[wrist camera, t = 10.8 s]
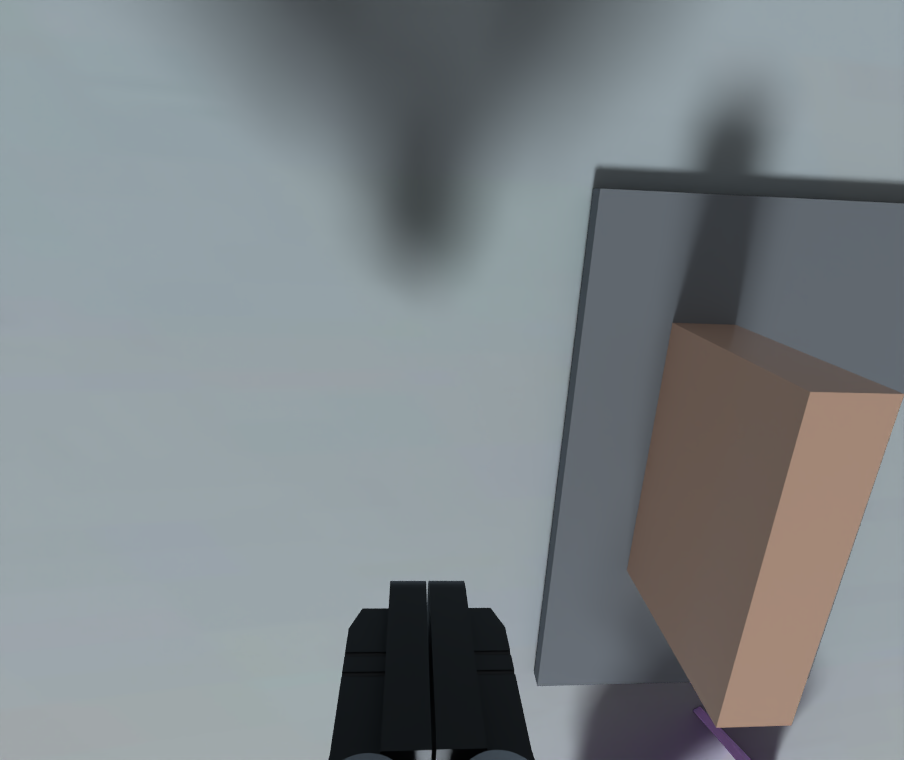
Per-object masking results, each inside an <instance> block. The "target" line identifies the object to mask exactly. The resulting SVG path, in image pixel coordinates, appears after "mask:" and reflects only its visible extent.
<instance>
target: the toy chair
mask: <svg viewBox="0 0 904 760" xmlns="http://www.w3.org/2000/svg"><path fill="white" fill-rule="evenodd" d="M693 711H694V713H695V714H696V715H697V716H698V717H699V718H700V719H701V721H702V722H703V723H704V724H705V725H706V726H707V727H708V728H709V729H710V731H711V732H712V733H713V734H714V735H715V736H716V737H717V738H718V740H719V741H720V742H721V743H722V744H723V745H724V746H725V748H726V749H727V750H728V751H729V752H730V753H731V755H732V756H733V757H734V758H735V759H736V760H751V759H750V758H749V757H748V756H747V754H746V753H745V752H744V751H743V750H742V749H741V748H740V747H739V746H738V745H737V744H736V743H735V742H734V741H733V740H732V739H731V738H730V737H729V736H728V735H727V734H726V733H725V732H724V731H723V730H722V729H721V728H716V727H715V725H714V723H713V721H712V720H711V718H710V716H709V715H708V714H707V713H706V712H705V711H704V710H703V709H702V708H701V707H700V706H699V707H697V708H696V709H694V710H693Z"/></svg>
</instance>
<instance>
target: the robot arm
mask: <svg viewBox="0 0 904 760" xmlns="http://www.w3.org/2000/svg"><path fill="white" fill-rule="evenodd" d="M329 760H535V759H534V757H533V753H532V750H531V745H530V741H529V736H528V731H527V727H526V722H525V718H524V713H523V708H522V704H521V699H520V694H519V690H518V685H517V680H516V676H515V674H514V667H513V662H512V657H511V655H510V648H509V643H508V639H507V634H506V629H505V627H504V625H503V624H502V623H501V621H500V620H499V619H498V617H497V616H496V615H495V613H494V612H493V611H492V609H491V608H468V603H467V595H466V588H465V583H464V581H429V582H428V597H427V594H426V581H390V596H389V608H388V609H362V610H361V612H360V613H359V614H358V616H357V617H356V619H355V620H354V622H353V623H352V625H351V626H350V628H349V631H348V637H347V644H346V650H345V657H344V664H343V670H342V677H341V684H340V690H339V697H338V704H337V710H336V717H335V724H334V730H333V737H332V744H331V750H330V756H329Z"/></svg>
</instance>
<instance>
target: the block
mask: <svg viewBox="0 0 904 760" xmlns="http://www.w3.org/2000/svg"><path fill="white" fill-rule="evenodd" d="M903 396H904V394H903V393H901V392H898V391H896V390H893V389H891V388H888V387H886V386H884V385H881V384H879V383H876V382H874V381H871V380H869V379H866V378H864V377H862V376H859V375H857V374H854V373H852V372H849V371H847V370H845V369H842V368H840V367H837V366H835V365H832V364H830V363H828V362H825V361H823V360H820V359H818V358H815V357H813V356H810V355H808V354H806V353H803V352H801V351H798V350H796V349H793V348H791V347H789V346H786V345H784V344H781V343H779V342H776V341H774V340H771V339H769V338H767V337H764V336H762V335H759V334H757V333H754V332H752V331H750V330H747V329H745V328H742V327H740V326H737V325H727V324H696V323H672V328H671V333H670V339H669V344H668V350H667V355H666V361H665V366H664V371H663V377H662V382H661V388H660V393H659V399H658V404H657V409H656V415H655V420H654V426H653V431H652V437H651V442H650V447H649V453H648V458H647V464H646V469H645V475H644V480H643V485H642V491H641V496H640V502H639V507H638V513H637V518H636V524H635V529H634V534H633V540H632V545H631V551H630V556H629V562H628V567H627V572H628V573H629V575H630V577H631V579H632V580H633V582H634V584H635V586H636V588H637V589H638V591H639V593H640V595H641V596H642V598H643V600H644V602H645V603H646V605H647V607H648V609H649V610H650V612H651V614H652V616H653V617H654V619H655V621H656V623H657V625H658V626H659V628H660V630H661V632H662V633H663V635H664V637H665V639H666V640H667V642H668V644H669V646H670V647H671V649H672V651H673V653H674V654H675V656H676V658H677V660H678V661H679V663H680V665H681V667H682V669H683V670H684V672H685V674H686V676H687V677H688V679H689V681H690V683H691V684H692V686H693V688H694V690H695V691H696V693H697V695H698V697H699V698H700V700H701V702H702V704H703V706H704V707H705V709H706V711H707V713H708V714H709V716H710V718H711V720H712V721H713V723H714V725H715V727H716V728H726V727H758V726H790V725H792V722H793V719H794V716H795V713H796V710H797V708H798V705H799V702H800V699H801V696H802V693H803V690H804V687H805V684H806V681H807V678H808V675H809V672H810V669H811V666H812V664H813V661H814V658H815V655H816V652H817V649H818V646H819V643H820V640H821V637H822V634H823V631H824V628H825V625H826V622H827V620H828V617H829V614H830V611H831V608H832V605H833V602H834V599H835V596H836V593H837V590H838V587H839V584H840V581H841V578H842V575H843V573H844V570H845V567H846V564H847V561H848V558H849V555H850V552H851V549H852V546H853V543H854V540H855V537H856V534H857V531H858V529H859V526H860V523H861V520H862V517H863V514H864V511H865V508H866V505H867V502H868V499H869V496H870V493H871V490H872V487H873V485H874V482H875V479H876V476H877V473H878V470H879V467H880V464H881V461H882V458H883V455H884V452H885V449H886V446H887V443H888V441H889V438H890V435H891V432H892V429H893V426H894V423H895V420H896V417H897V414H898V411H899V408H900V405H901V402H902V399H903Z"/></svg>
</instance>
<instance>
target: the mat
mask: <svg viewBox="0 0 904 760" xmlns="http://www.w3.org/2000/svg"><path fill="white" fill-rule="evenodd" d="M672 323H696V324H727V325H737V326H740V327H742V328H745V329H747V330H750V331H752V332H754V333H757V334H759V335H762V336H764V337H767V338H769V339H771V340H774V341H776V342H779V343H781V344H784V345H786V346H789V347H791V348H793V349H796V350H798V351H801V352H803V353H806V354H808V355H810V356H813V357H815V358H818V359H820V360H823V361H825V362H828V363H830V364H832V365H835V366H837V367H840V368H842V369H845V370H847V371H849V372H852V373H854V374H857V375H859V376H862V377H864V378H866V379H869V380H871V381H874V382H876V383H879V384H881V385H884V386H886V387H888V388H891V389H893V390H896V391H898V392H901V393H903V394H904V203H884V202H864V201H843V200H823V199H803V198H783V197H763V196H742V195H722V194H702V193H682V192H661V191H641V190H621V189H601V188H600V189H593V196H592V204H591V212H590V220H589V228H588V237H587V245H586V253H585V261H584V269H583V277H582V286H581V294H580V302H579V310H578V318H577V327H576V335H575V343H574V351H573V359H572V367H571V376H570V384H569V392H568V400H567V408H566V416H565V425H564V433H563V441H562V449H561V457H560V465H559V474H558V482H557V490H556V498H555V506H554V514H553V523H552V531H551V539H550V547H549V555H548V564H547V572H546V580H545V588H544V596H543V604H542V613H541V621H540V629H539V637H538V645H537V653H536V662H535V670H534V674H535V678H536V682H537V686H557V685H595V684H633V683H671V682H690V681H689V679H688V677H687V676H686V674H685V672H684V670H683V669H682V667H681V665H680V663H679V661H678V660H677V658H676V656H675V654H674V653H673V651H672V649H671V647H670V646H669V644H668V642H667V640H666V639H665V637H664V635H663V633H662V632H661V630H660V628H659V626H658V625H657V623H656V621H655V619H654V617H653V616H652V614H651V612H650V610H649V609H648V607H647V605H646V603H645V602H644V600H643V598H642V596H641V595H640V593H639V591H638V589H637V588H636V586H635V584H634V582H633V580H632V579H631V577H630V575H629V573H628V572H627V567H628V562H629V556H630V551H631V545H632V540H633V534H634V529H635V524H636V518H637V513H638V507H639V502H640V496H641V491H642V485H643V480H644V475H645V469H646V464H647V458H648V453H649V447H650V442H651V437H652V431H653V426H654V420H655V415H656V409H657V404H658V399H659V393H660V388H661V382H662V377H663V371H664V366H665V361H666V355H667V350H668V344H669V339H670V333H671V328H672ZM903 397H904V396H903ZM902 400H903V399H902ZM887 444H888V443H887ZM886 447H887V446H886ZM885 450H886V449H885ZM884 453H885V452H884ZM883 456H884V455H883ZM882 459H883V458H882ZM881 462H882V461H881ZM880 465H881V464H880ZM879 468H880V467H879ZM878 471H879V470H878ZM877 474H878V473H877ZM876 477H877V476H876ZM875 480H876V479H875ZM872 488H873V487H872ZM871 491H872V490H871ZM870 494H871V493H870ZM869 497H870V496H869ZM868 500H869V499H868ZM867 503H868V502H867ZM866 506H867V505H866ZM865 509H866V508H865ZM864 512H865V511H864ZM863 515H864V514H863ZM862 518H863V517H862ZM861 521H862V520H861ZM860 524H861V523H860ZM859 527H860V526H859ZM858 530H859V529H858ZM857 533H858V531H857ZM856 536H857V534H856ZM855 539H856V537H855ZM854 542H855V540H854ZM853 545H854V543H853ZM852 548H853V546H852ZM851 551H852V549H851ZM850 554H851V552H850ZM849 557H850V555H849ZM848 560H849V558H848ZM847 562H848V561H847ZM846 565H847V564H846ZM845 568H846V567H845ZM844 571H845V570H844ZM843 574H844V573H843ZM842 577H843V575H842ZM841 580H842V578H841ZM840 583H841V581H840ZM839 586H840V584H839ZM838 589H839V587H838ZM837 592H838V590H837ZM836 595H837V593H836ZM835 598H836V596H835ZM834 601H835V599H834ZM833 604H834V602H833ZM832 607H833V605H832ZM831 610H832V608H831ZM830 613H831V611H830ZM829 616H830V614H829ZM828 619H829V617H828ZM827 622H828V620H827ZM827 622H826V625H827ZM826 625H825V628H826ZM825 628H824V631H825ZM824 631H823V634H824ZM823 634H822V637H823ZM822 637H821V639H822ZM820 642H821V640H820ZM819 645H820V643H819ZM818 648H819V646H818ZM817 651H818V649H817ZM816 654H817V652H816ZM815 657H816V655H815ZM814 660H815V658H814ZM813 663H814V661H813ZM812 666H813V664H812ZM812 666H811V669H812ZM811 669H810V672H811ZM810 672H809V675H810ZM809 675H808V678H809ZM808 678H807V679H808Z"/></svg>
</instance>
